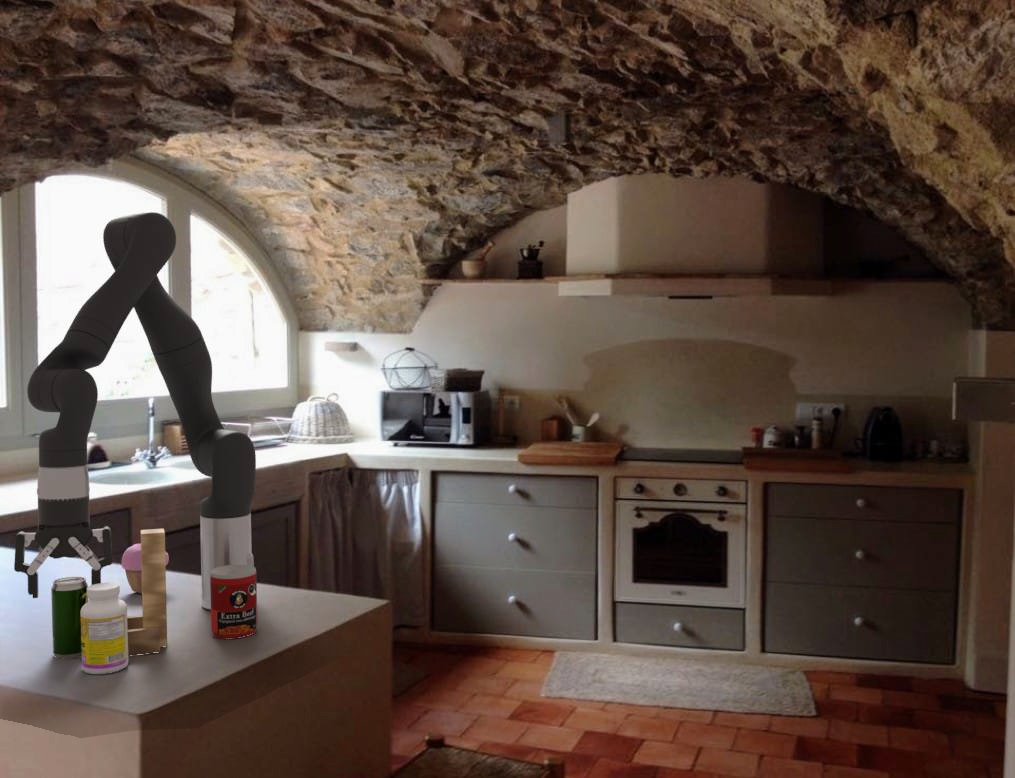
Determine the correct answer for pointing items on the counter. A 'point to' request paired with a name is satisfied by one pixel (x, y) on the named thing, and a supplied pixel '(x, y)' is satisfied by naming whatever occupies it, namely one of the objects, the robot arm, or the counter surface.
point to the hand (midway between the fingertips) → (64, 594)
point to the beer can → (68, 615)
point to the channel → (141, 637)
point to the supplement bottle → (104, 630)
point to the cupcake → (135, 566)
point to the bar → (154, 581)
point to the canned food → (233, 601)
